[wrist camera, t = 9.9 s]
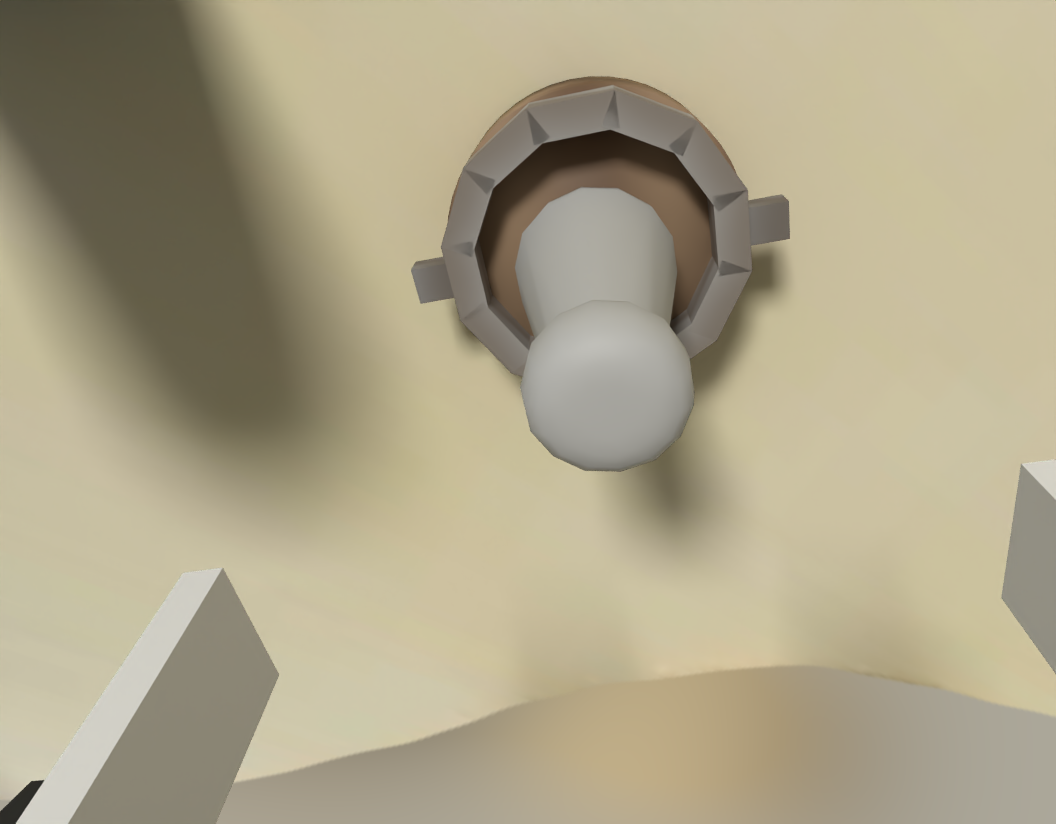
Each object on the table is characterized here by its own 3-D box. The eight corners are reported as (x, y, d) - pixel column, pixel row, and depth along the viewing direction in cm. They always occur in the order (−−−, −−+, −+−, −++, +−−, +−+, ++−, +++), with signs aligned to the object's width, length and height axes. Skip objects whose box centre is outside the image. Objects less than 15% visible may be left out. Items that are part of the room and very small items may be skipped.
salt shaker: (598, 344, 31) (614, 549, 19) (490, 258, 29) (437, 427, 18) (700, 238, 28) (785, 402, 17) (588, 138, 27) (599, 245, 15)
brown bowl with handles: (464, 371, 35) (451, 419, 31) (395, 117, 29) (368, 135, 26) (770, 322, 33) (796, 367, 29) (757, 39, 27) (788, 46, 23)
